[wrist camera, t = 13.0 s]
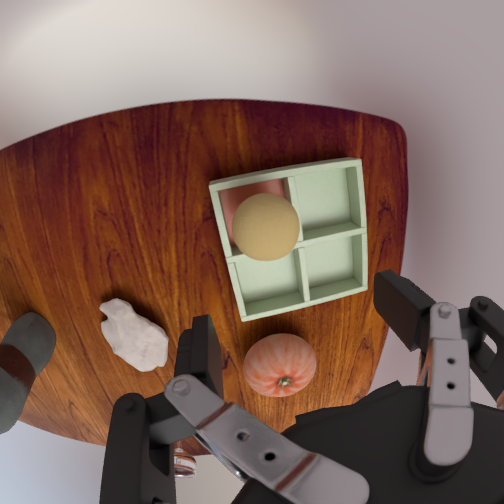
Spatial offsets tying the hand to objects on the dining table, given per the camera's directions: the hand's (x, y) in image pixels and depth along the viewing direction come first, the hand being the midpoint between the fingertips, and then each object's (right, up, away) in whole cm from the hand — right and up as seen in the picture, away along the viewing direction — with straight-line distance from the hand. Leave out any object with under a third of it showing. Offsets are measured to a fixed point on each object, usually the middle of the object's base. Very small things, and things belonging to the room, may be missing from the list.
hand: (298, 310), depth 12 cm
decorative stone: (-19, -10, +25) cm, 33 cm away
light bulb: (-2, +8, +20) cm, 22 cm away
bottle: (-40, -11, +24) cm, 47 cm away
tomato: (+2, -12, +29) cm, 32 cm away
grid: (+3, +5, +22) cm, 23 cm away
